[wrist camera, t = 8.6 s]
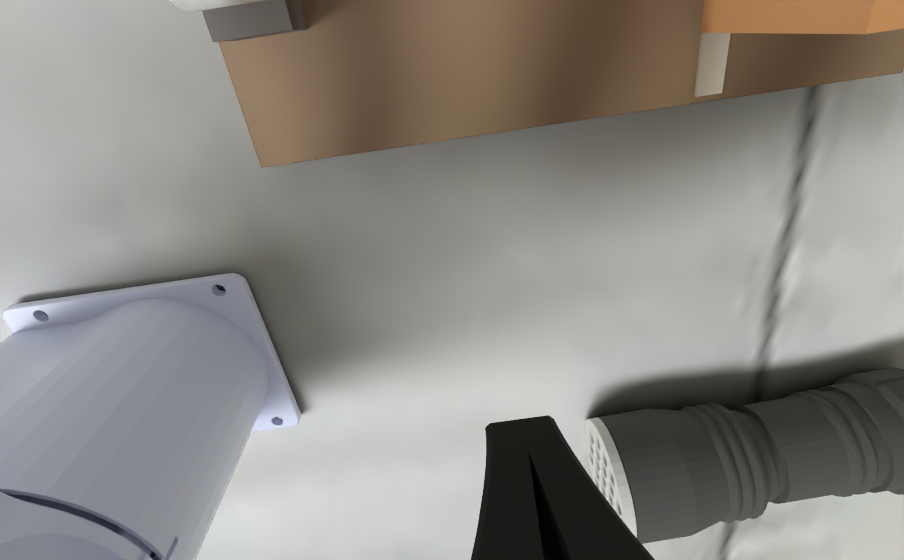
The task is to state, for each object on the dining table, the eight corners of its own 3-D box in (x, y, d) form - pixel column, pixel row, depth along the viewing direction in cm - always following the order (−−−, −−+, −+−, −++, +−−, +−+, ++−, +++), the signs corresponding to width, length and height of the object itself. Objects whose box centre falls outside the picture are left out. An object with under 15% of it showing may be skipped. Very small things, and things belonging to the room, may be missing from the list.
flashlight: (905, 338, 21) (1043, 425, 17) (875, 419, 24) (986, 515, 19) (582, 395, 22) (625, 495, 17) (586, 468, 25) (625, 572, 20)
